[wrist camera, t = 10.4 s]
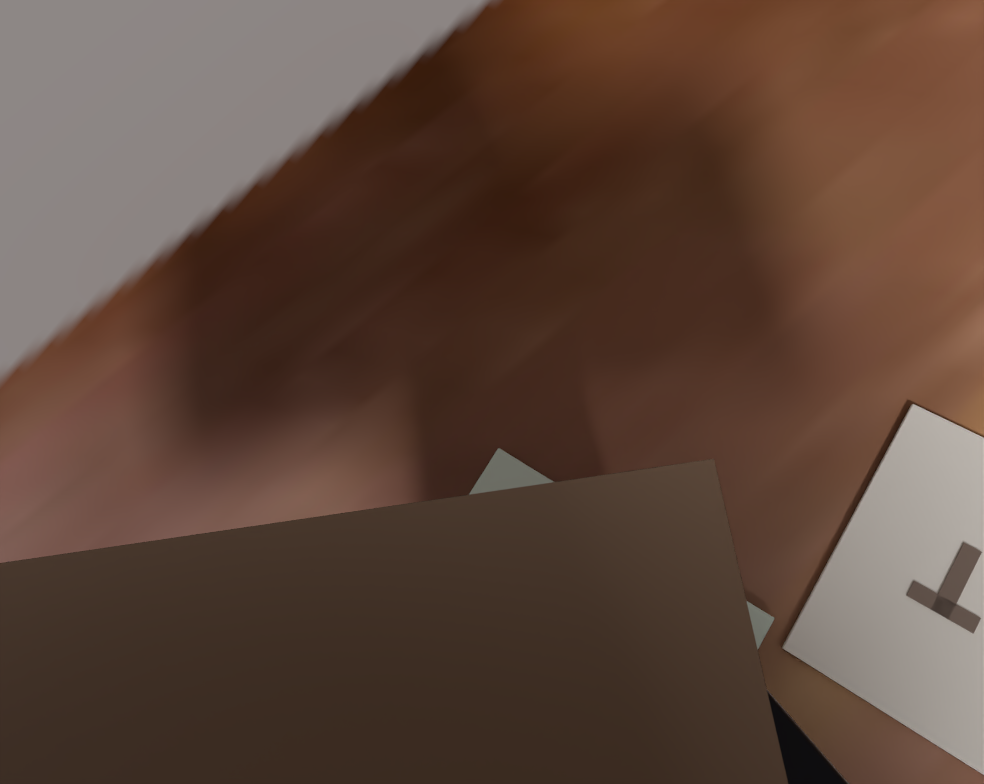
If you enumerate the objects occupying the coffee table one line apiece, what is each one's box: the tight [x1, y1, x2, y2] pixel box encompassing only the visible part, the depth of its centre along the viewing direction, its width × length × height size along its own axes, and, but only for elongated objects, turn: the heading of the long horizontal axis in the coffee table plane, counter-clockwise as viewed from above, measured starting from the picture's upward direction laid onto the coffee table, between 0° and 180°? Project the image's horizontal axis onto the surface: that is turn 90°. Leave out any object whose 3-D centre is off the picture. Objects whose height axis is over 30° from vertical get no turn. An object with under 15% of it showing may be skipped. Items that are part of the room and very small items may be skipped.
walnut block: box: [0, 459, 788, 784], centre depth 8 cm, size 5×5×12 cm
